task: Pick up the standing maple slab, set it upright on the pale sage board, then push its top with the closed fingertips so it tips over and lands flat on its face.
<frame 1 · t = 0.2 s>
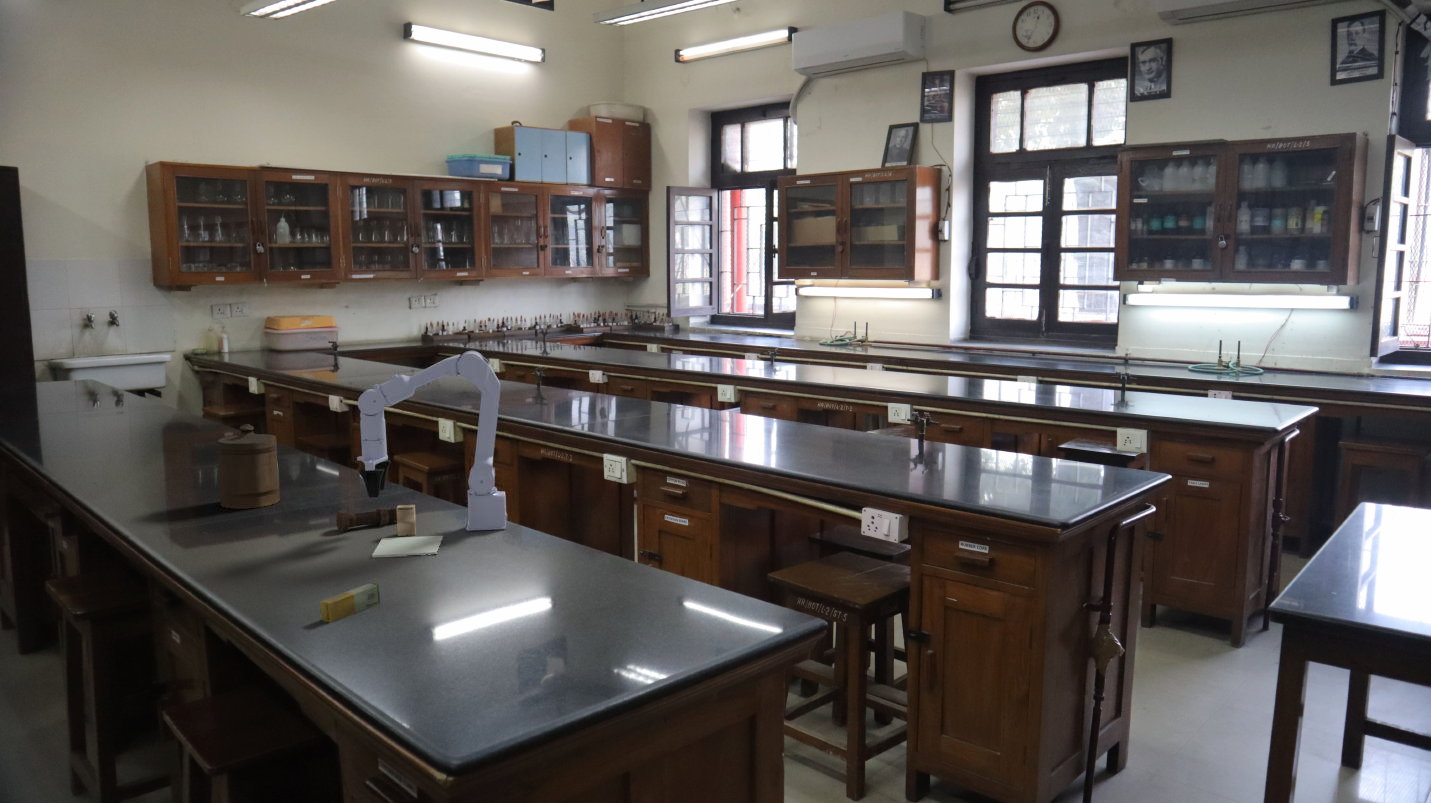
hand: (376, 493, 237), 10 cm above the table, tool pointing down, fingers open, 7 cm apart
wooden container: (250, 503, 268), on the table
slab: (407, 534, 236), on the table
board: (408, 547, 225), on the table
bolt: (370, 527, 244), on the table
medication box: (351, 613, 183), on the table
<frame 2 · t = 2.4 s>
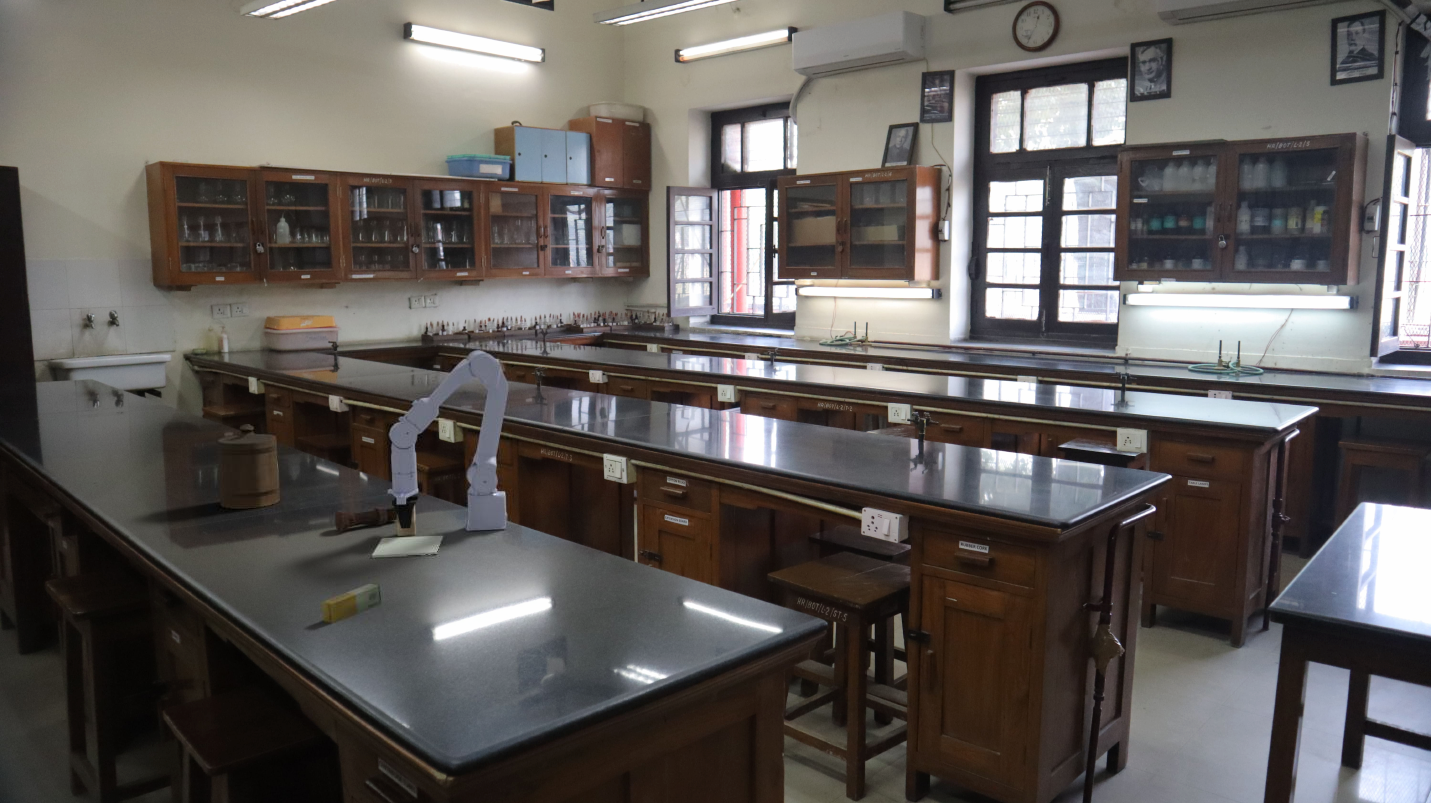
hand: (406, 526, 236), 2 cm above the table, tool pointing down, fingers closed on slab, 2 cm apart
slab: (407, 534, 236), on the table, touching gripper
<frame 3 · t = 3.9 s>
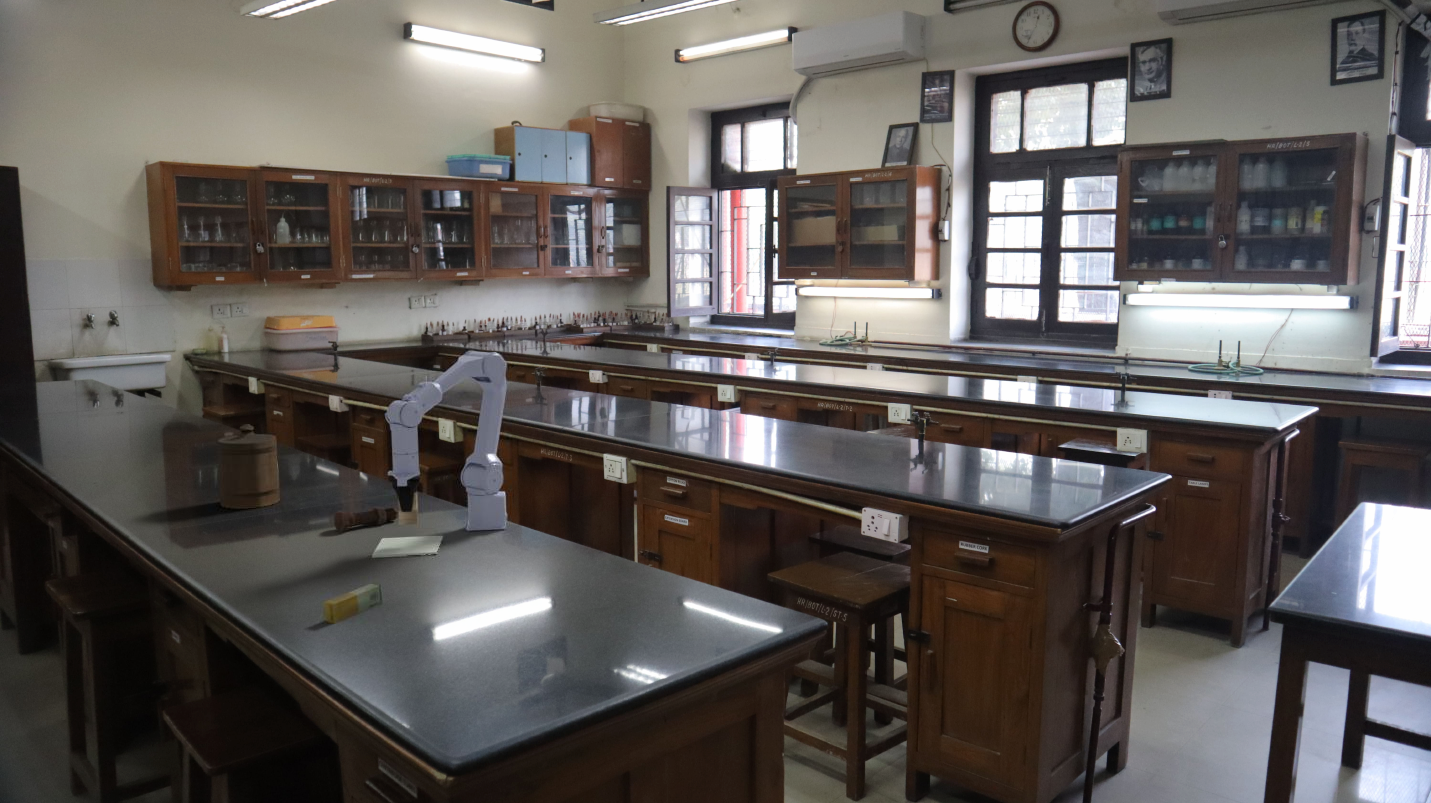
hand: (407, 509, 225), 9 cm above the table, tool pointing down, fingers closed on slab, 2 cm apart
slab: (408, 523, 225), point 6 cm above the table, touching gripper
when the fingers open (3 cm above the table, at t = 5.5 s): slab stays where it is, resting on board.
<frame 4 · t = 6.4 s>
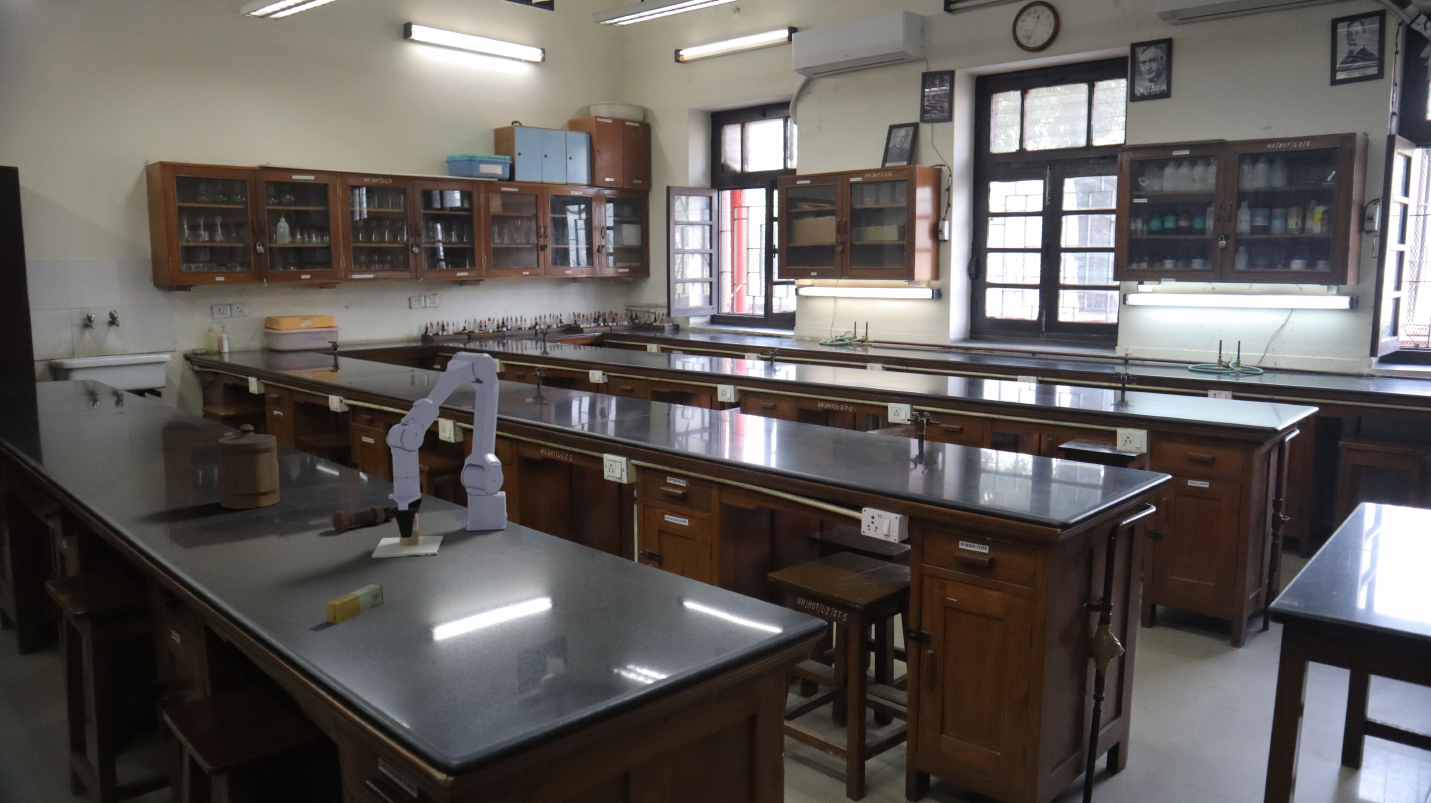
hand: (408, 532, 226), 3 cm above the table, tool pointing down, fingers open, 7 cm apart
slab: (409, 543, 226), point 1 cm above the table, touching board
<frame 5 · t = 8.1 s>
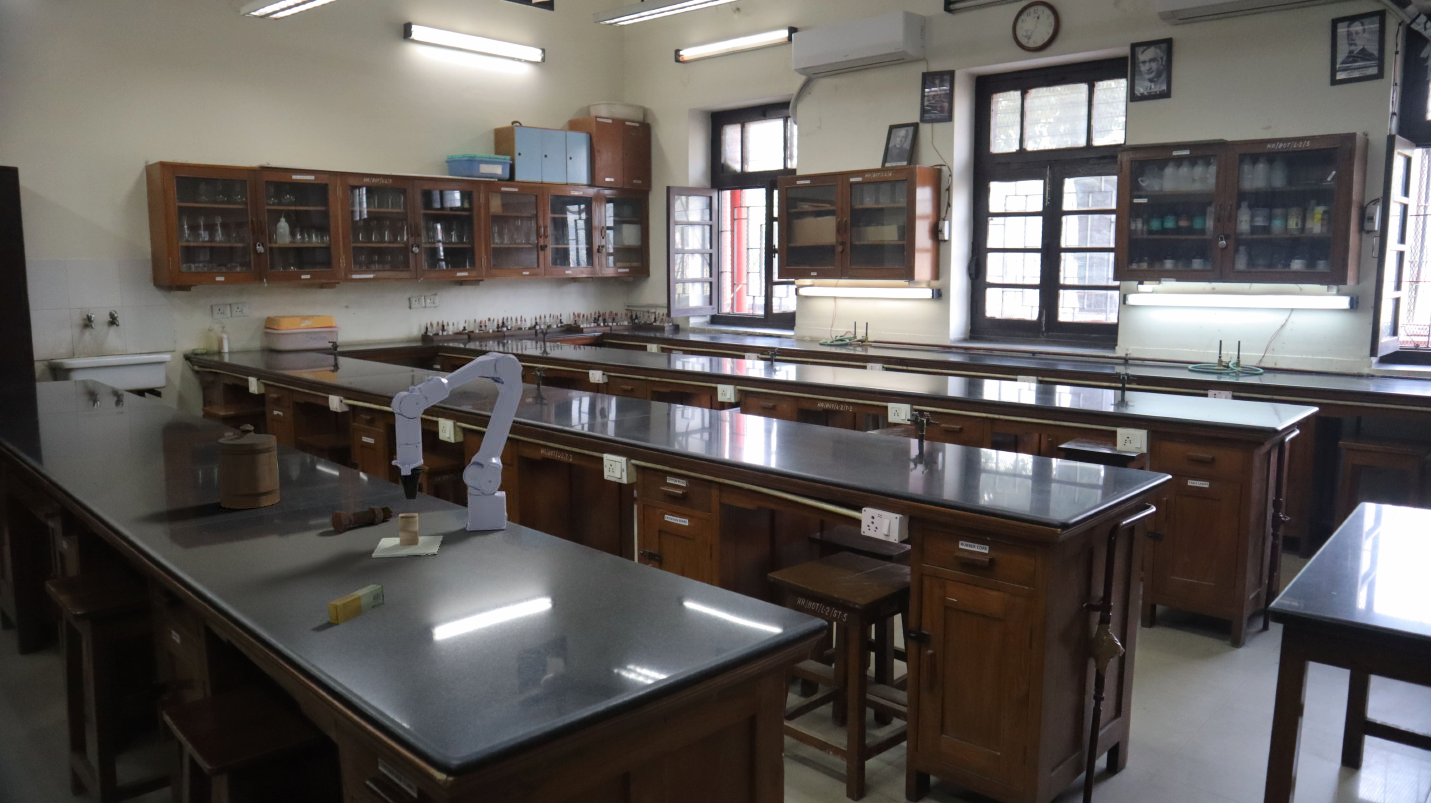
hand: (411, 498, 231), 10 cm above the table, tool pointing down, fingers closed
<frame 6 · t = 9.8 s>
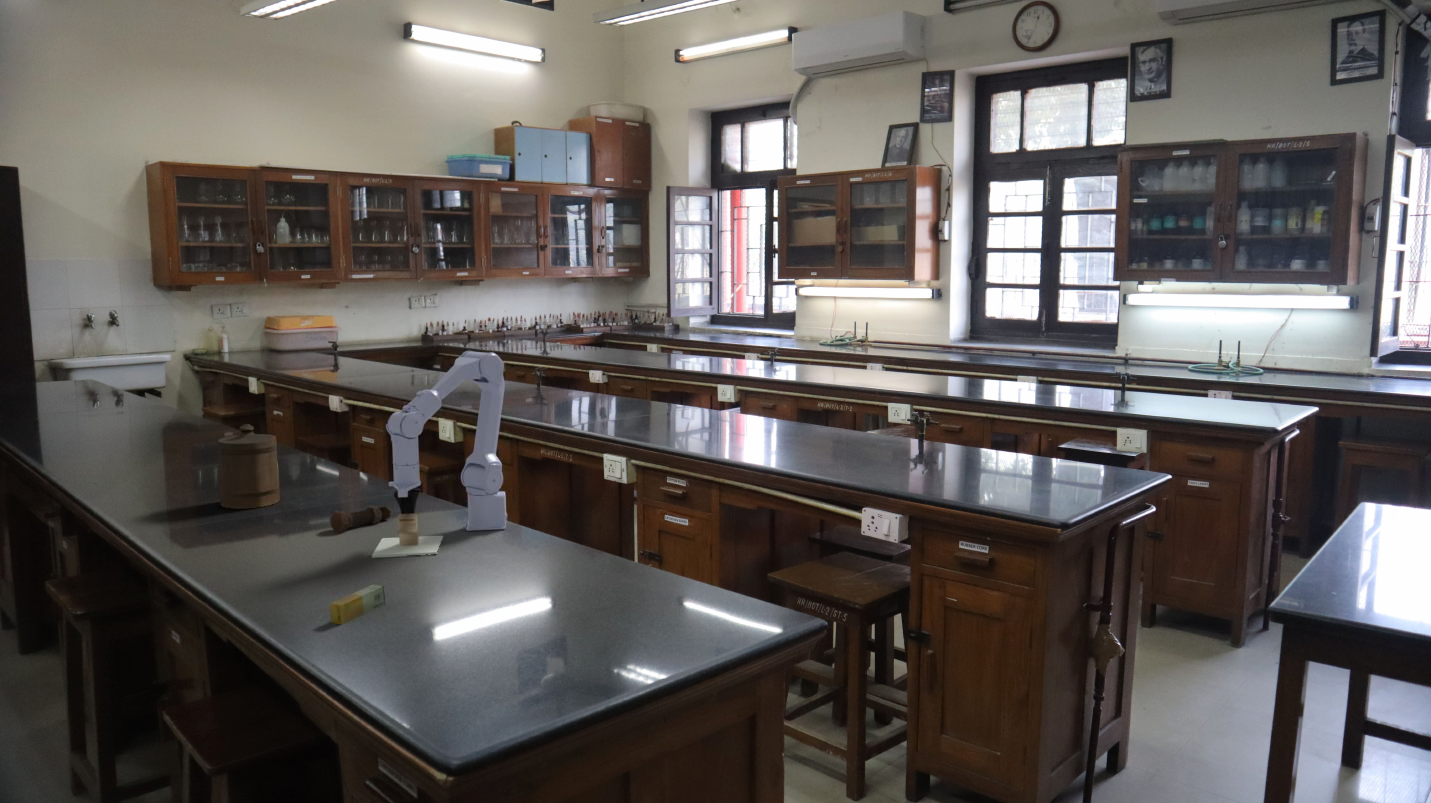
hand: (408, 520, 226), 6 cm above the table, tool pointing down, fingers closed
slab: (409, 542, 226), point 1 cm above the table, tilted 15°, touching board, gripper
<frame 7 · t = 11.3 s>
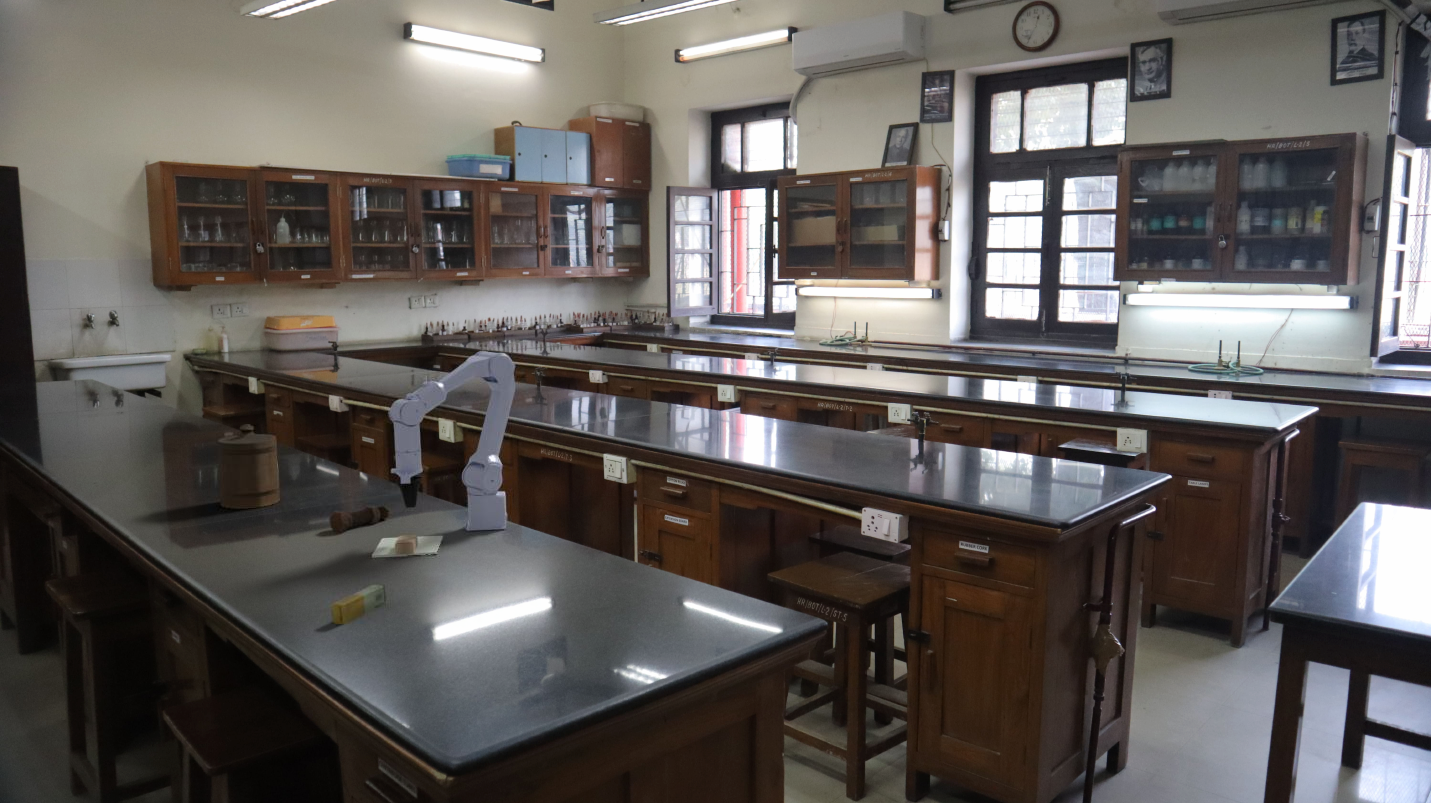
hand: (410, 506, 229), 8 cm above the table, tool pointing down, fingers closed
slab: (408, 540, 225), point 2 cm above the table, tilted 90°, touching board
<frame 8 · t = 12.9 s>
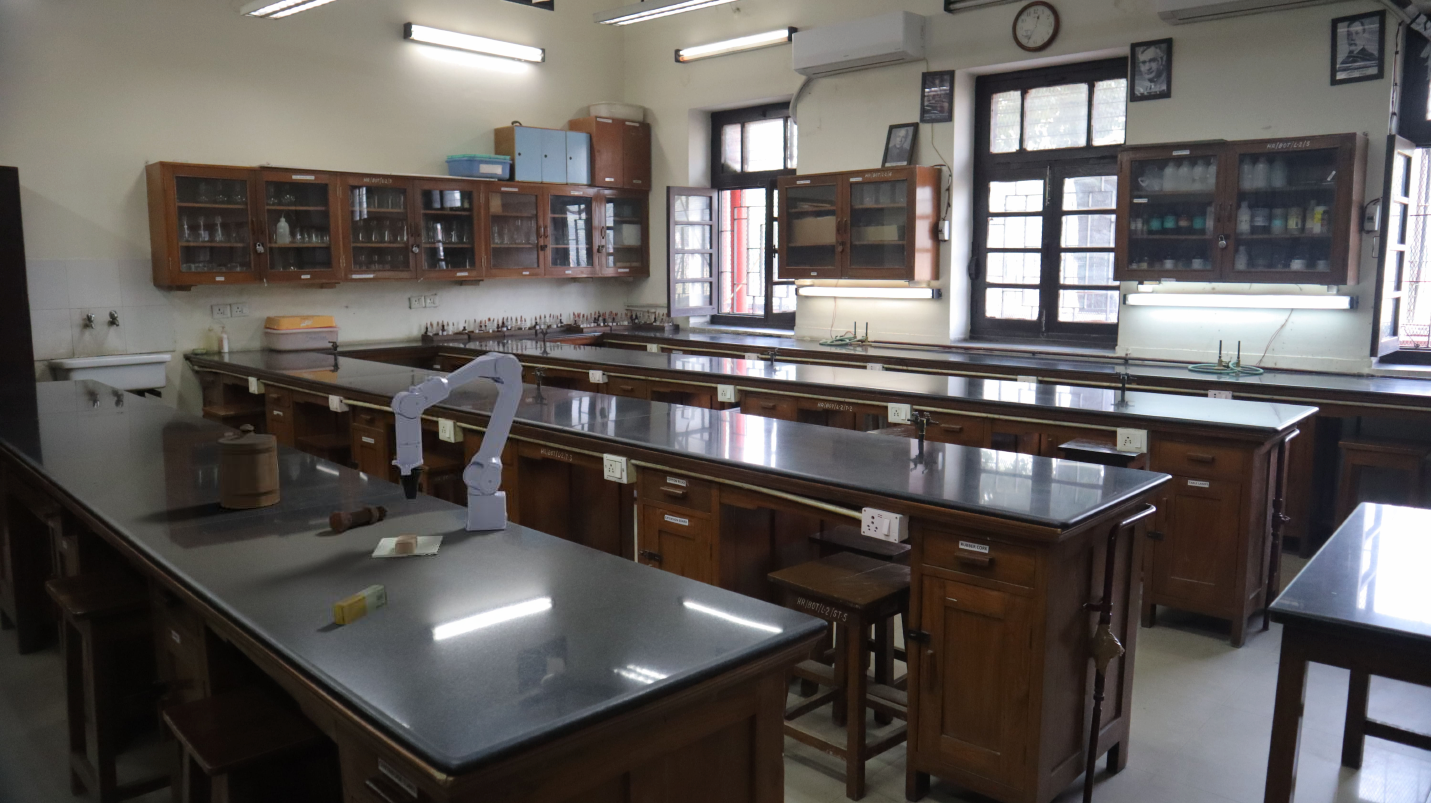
hand: (411, 498, 231), 10 cm above the table, tool pointing down, fingers closed
at the end: slab tilted 90°; slab inside the target area on the board (0.2 cm from its centre), point 1.8 cm above the board's base; the gripper is holding nothing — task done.
